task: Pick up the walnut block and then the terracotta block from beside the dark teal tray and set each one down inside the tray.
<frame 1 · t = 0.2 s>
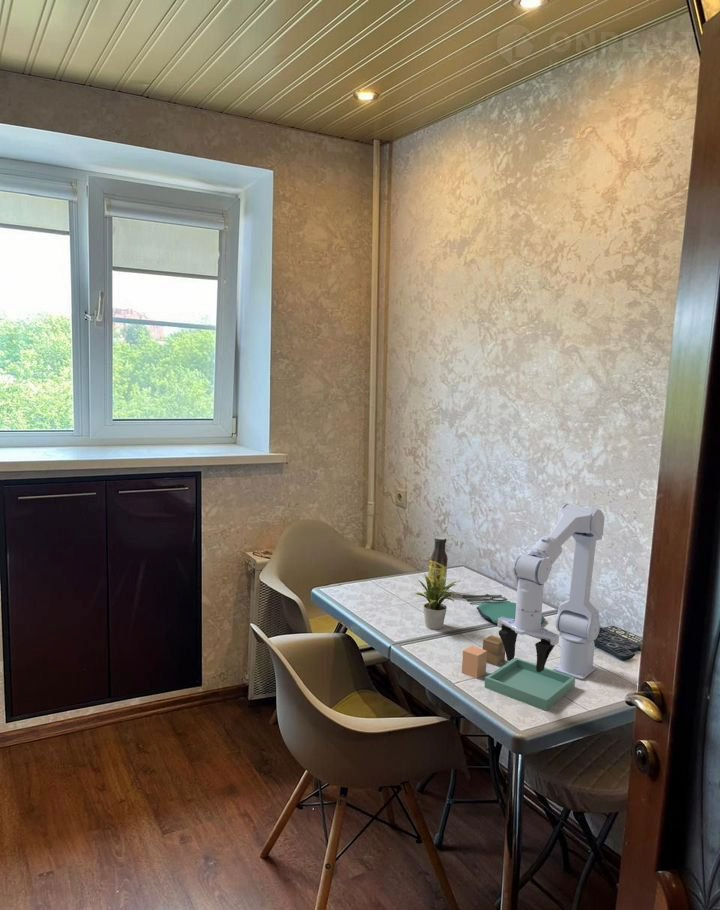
hand: (524, 665, 151), 10 cm above the table, tool pointing down, fingers open, 7 cm apart
house plant: (435, 628, 197), on the table
terracotta block: (473, 673, 168), on the table
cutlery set: (502, 613, 214), on the table
sauce bottle: (436, 593, 229), on the table
tray: (529, 687, 161), on the table
walnut block: (493, 661, 176), on the table
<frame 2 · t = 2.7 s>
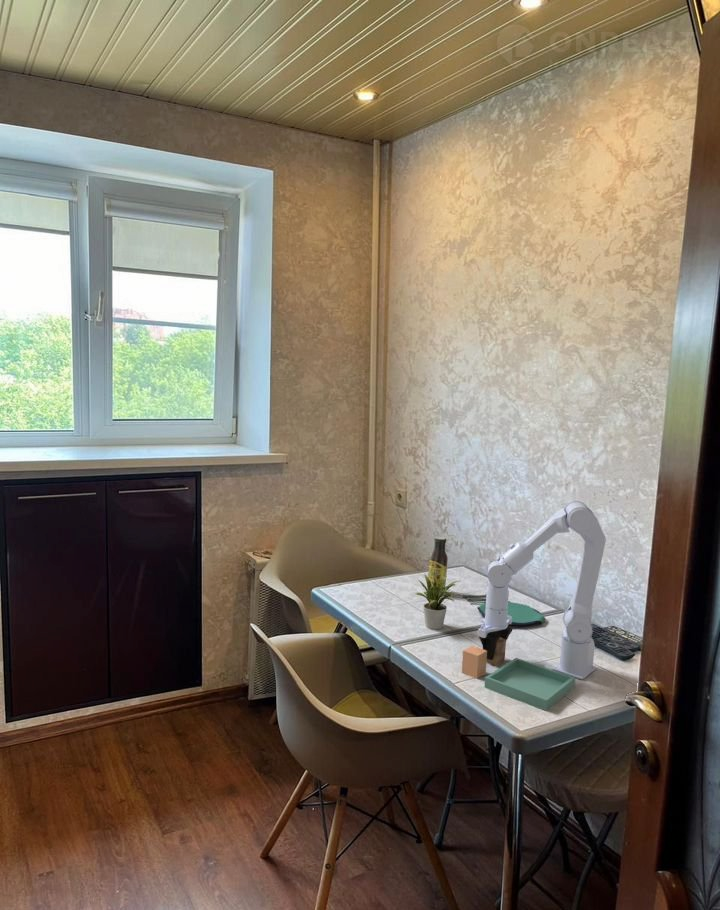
hand: (493, 655, 175), 1 cm above the table, tool pointing down, fingers closed on walnut block, 4 cm apart
walnut block: (493, 660, 176), on the table, touching gripper
everything else where it was.
when the fingers open (3 cm above the table, at t = 6.3 s): walnut block drops 1 cm, resting on tray.
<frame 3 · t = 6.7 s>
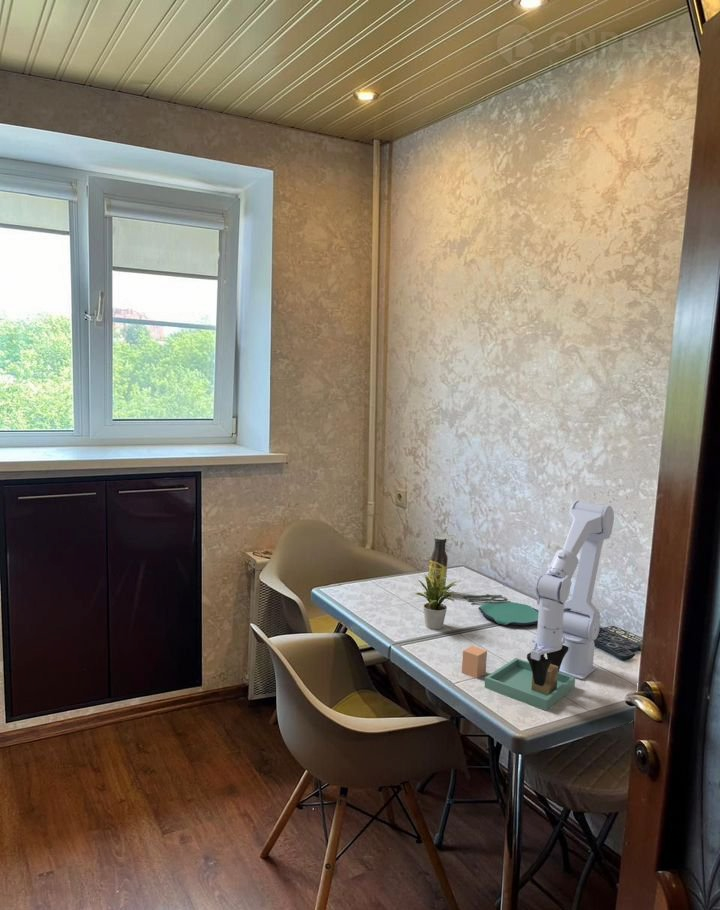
hand: (546, 679, 158), 3 cm above the table, tool pointing down, fingers open, 7 cm apart
walnut block: (544, 690, 159), point 1 cm above the table, touching tray
everything else where it was.
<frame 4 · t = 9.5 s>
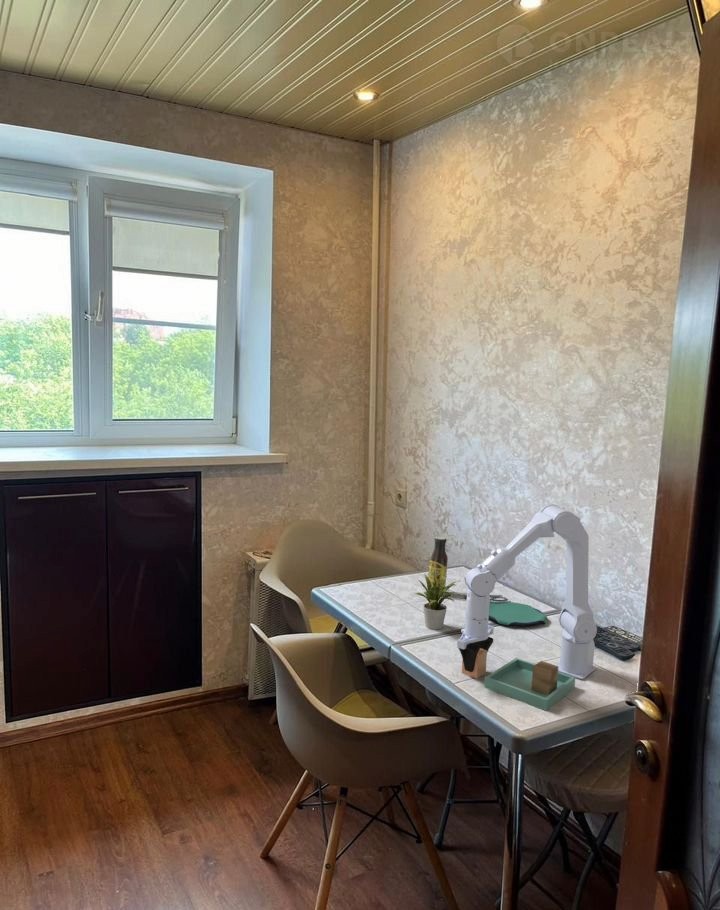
hand: (474, 667, 168), 1 cm above the table, tool pointing down, fingers closed on terracotta block, 4 cm apart
terracotta block: (473, 672, 168), on the table, touching gripper
everything else where it was.
when the fingers open (3 cm above the table, at t = 12.8 s): terracotta block drops 1 cm, resting on tray.
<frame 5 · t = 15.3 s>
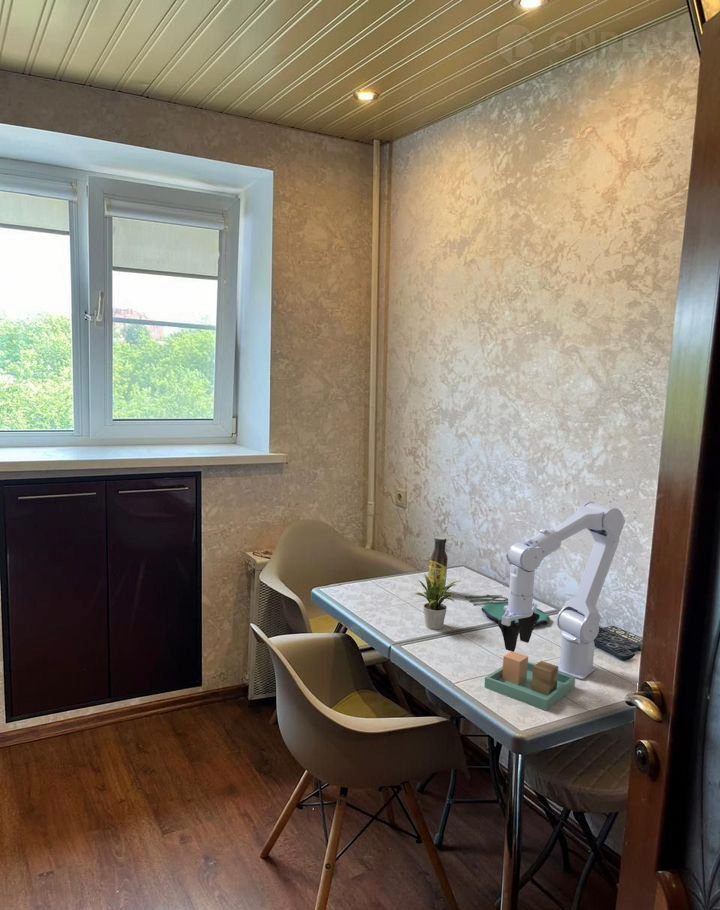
hand: (517, 645, 163), 9 cm above the table, tool pointing down, fingers open, 7 cm apart
terracotta block: (514, 679, 164), point 1 cm above the table, touching tray
at the end: walnut block inside the target area on the tray (3.7 cm from its centre), point 0.6 cm above the tray's base; terracotta block inside the target area on the tray (4.2 cm from its centre), point 0.6 cm above the tray's base; terracotta block tilted 0° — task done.
